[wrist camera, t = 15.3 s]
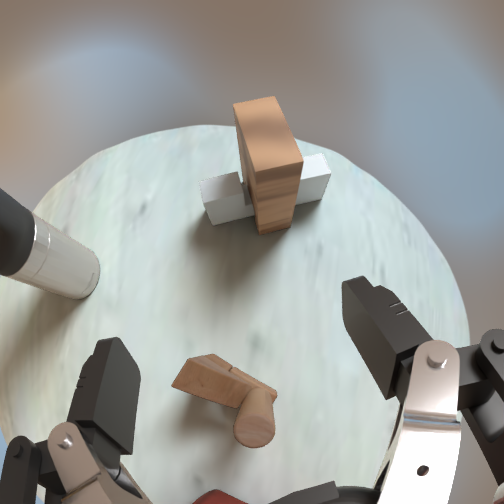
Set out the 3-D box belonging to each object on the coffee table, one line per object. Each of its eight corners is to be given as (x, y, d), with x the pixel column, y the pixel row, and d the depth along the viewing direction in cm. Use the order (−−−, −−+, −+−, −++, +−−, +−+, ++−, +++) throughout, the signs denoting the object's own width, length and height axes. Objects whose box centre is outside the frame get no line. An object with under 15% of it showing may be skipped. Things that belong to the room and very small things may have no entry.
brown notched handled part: (212, 352, 41) (176, 359, 24) (277, 390, 39) (286, 424, 22) (199, 373, 40) (156, 392, 23) (263, 411, 38) (263, 457, 21)
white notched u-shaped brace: (212, 225, 46) (203, 203, 39) (208, 206, 47) (198, 181, 40) (321, 198, 47) (331, 173, 39) (314, 180, 48) (322, 153, 40)
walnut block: (290, 227, 46) (303, 161, 28) (259, 235, 46) (255, 171, 28) (272, 173, 49) (274, 96, 31) (243, 180, 48) (232, 104, 31)
